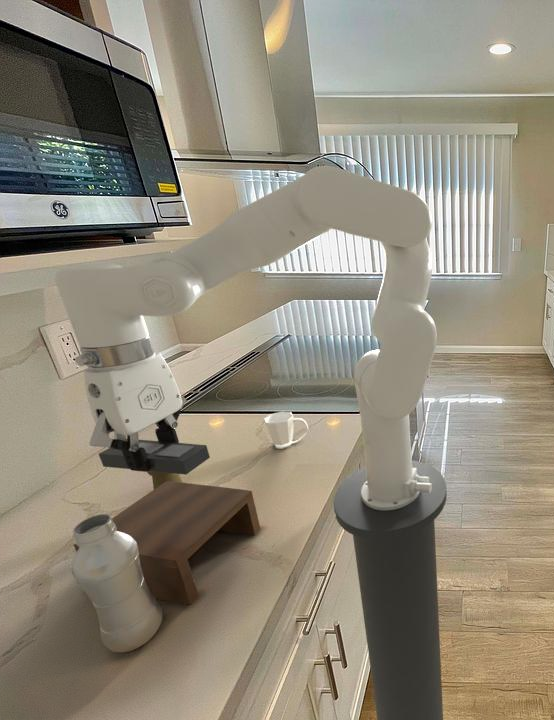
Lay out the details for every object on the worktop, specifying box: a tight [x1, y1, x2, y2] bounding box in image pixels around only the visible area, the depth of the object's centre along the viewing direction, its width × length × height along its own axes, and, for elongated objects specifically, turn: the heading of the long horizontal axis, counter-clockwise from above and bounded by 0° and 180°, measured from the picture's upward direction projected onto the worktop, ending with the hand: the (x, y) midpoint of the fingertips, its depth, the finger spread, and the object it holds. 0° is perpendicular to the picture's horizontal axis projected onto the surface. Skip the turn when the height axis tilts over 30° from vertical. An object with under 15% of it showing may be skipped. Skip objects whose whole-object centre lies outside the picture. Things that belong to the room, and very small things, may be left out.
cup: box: [263, 410, 309, 450], centre depth 103 cm, size 7×10×8 cm
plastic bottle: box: [71, 513, 163, 653], centre depth 53 cm, size 6×7×20 cm
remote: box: [98, 438, 211, 475], centre depth 63 cm, size 15×5×3 cm, turn 81°
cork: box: [146, 471, 186, 490], centre depth 81 cm, size 6×6×11 cm
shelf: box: [73, 481, 261, 606], centre depth 68 cm, size 18×16×9 cm
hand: (156, 458), depth 63 cm, fingers closed on remote, 4 cm apart
